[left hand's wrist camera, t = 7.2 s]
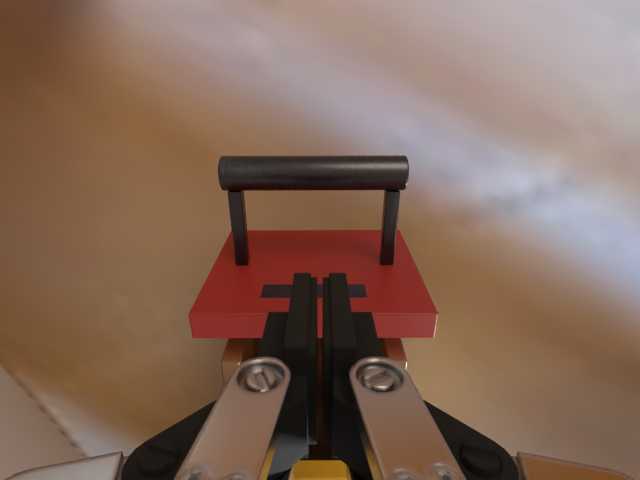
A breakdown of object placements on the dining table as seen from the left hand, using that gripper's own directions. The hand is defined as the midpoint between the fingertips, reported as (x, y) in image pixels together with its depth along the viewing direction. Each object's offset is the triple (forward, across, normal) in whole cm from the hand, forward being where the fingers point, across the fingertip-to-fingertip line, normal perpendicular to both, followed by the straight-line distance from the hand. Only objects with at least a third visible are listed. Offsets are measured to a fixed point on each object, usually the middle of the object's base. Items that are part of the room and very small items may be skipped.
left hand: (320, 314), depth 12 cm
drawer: (+11, 0, -7) cm, 13 cm away
